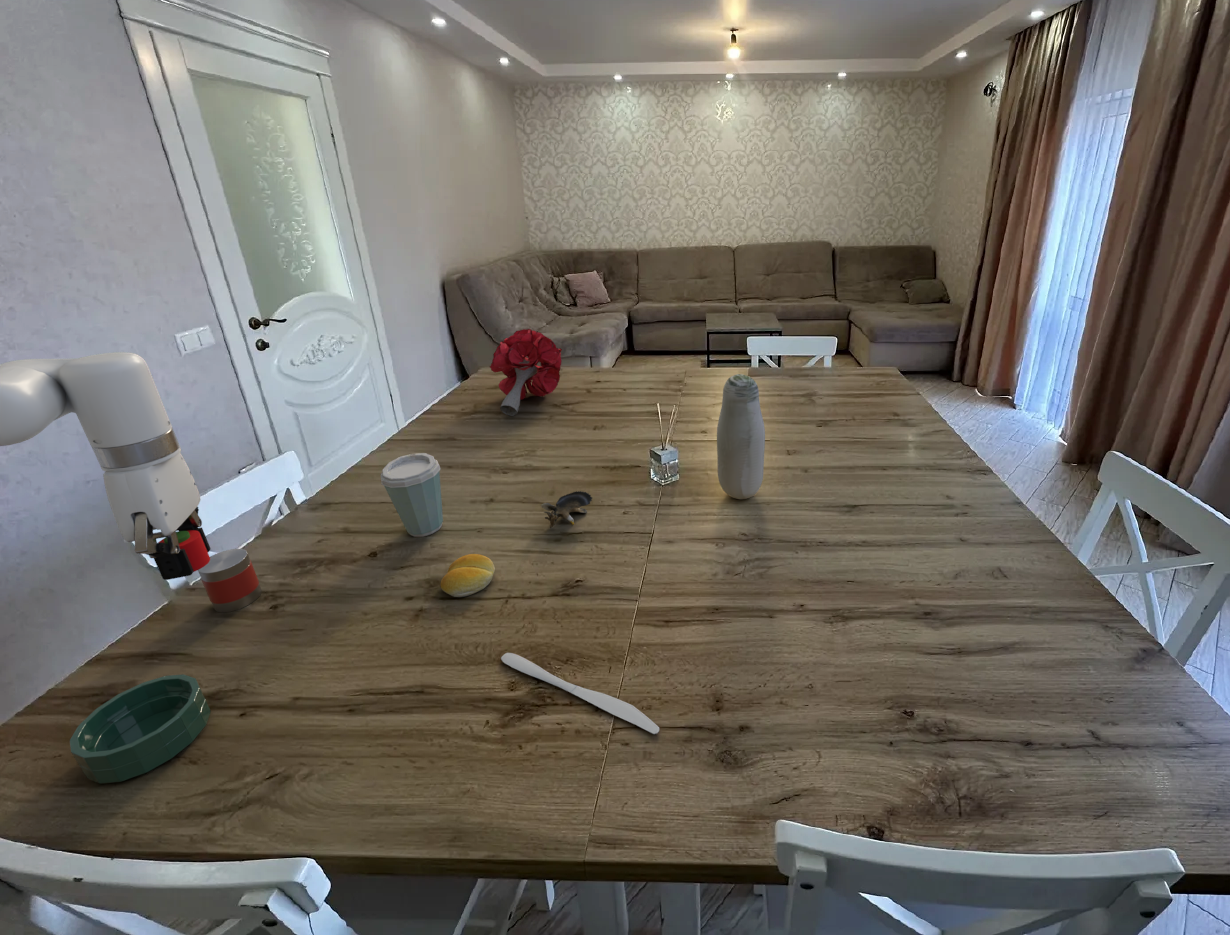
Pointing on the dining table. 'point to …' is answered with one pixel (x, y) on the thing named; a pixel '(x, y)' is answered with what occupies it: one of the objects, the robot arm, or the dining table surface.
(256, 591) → the can
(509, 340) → the bouquet
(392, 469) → the disposable coffee cup
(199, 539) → the red short cylinder
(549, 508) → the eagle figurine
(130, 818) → the dining table surface
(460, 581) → the bread roll
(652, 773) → the dining table surface
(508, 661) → the butter knife
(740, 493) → the white bottle
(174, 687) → the bowl
